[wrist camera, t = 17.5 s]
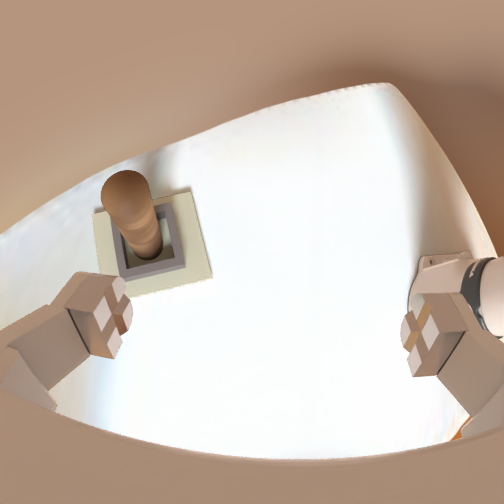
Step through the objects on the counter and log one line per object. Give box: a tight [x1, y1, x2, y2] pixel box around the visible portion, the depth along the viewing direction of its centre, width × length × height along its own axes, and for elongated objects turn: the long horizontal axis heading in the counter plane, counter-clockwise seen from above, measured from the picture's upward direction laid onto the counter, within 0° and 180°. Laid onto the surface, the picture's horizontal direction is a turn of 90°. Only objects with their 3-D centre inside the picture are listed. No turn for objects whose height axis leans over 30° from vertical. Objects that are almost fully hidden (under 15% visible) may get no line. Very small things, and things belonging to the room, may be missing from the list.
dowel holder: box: [92, 192, 212, 299], centre depth 37 cm, size 14×12×4 cm
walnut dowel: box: [101, 170, 163, 260], centre depth 30 cm, size 4×4×16 cm
